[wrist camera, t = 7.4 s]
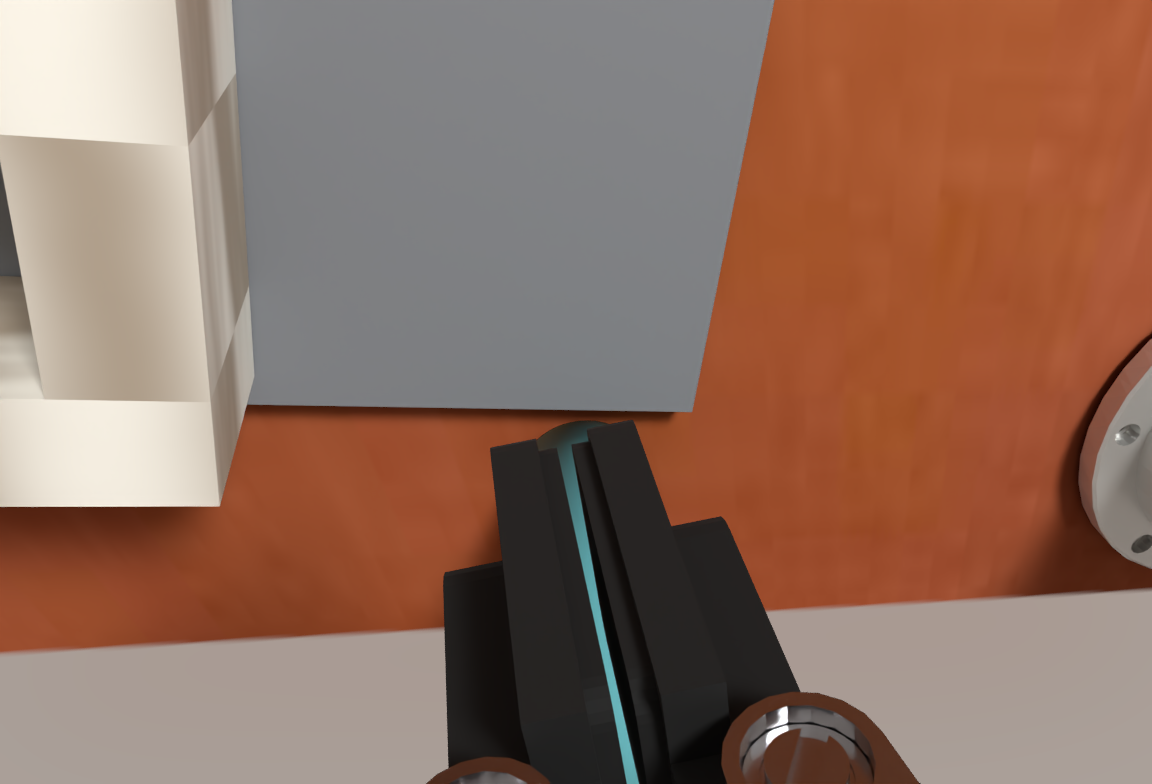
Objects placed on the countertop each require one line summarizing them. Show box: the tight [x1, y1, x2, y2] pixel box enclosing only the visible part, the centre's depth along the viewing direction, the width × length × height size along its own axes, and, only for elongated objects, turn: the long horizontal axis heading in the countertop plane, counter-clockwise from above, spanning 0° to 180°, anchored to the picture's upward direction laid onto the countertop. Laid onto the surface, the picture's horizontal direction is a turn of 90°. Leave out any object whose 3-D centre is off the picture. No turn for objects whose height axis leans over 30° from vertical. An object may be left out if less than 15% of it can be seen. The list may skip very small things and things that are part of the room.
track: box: [0, 0, 774, 412], centre depth 21 cm, size 29×13×9 cm, turn 84°
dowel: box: [536, 421, 639, 784], centre depth 27 cm, size 4×4×12 cm
